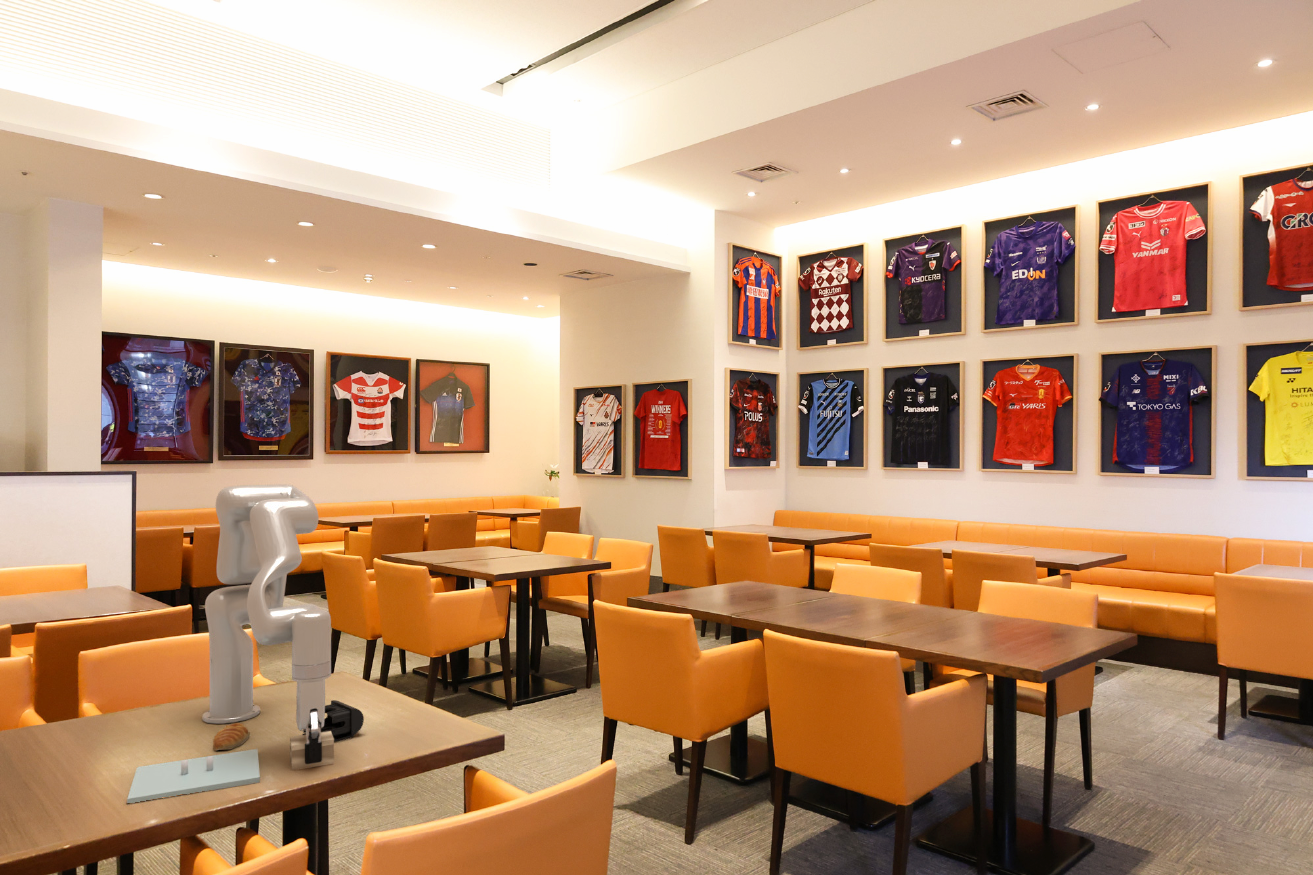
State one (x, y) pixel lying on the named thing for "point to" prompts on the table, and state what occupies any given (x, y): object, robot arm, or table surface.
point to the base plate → (194, 775)
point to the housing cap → (299, 751)
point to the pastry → (231, 737)
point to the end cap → (342, 720)
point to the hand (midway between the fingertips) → (311, 756)
